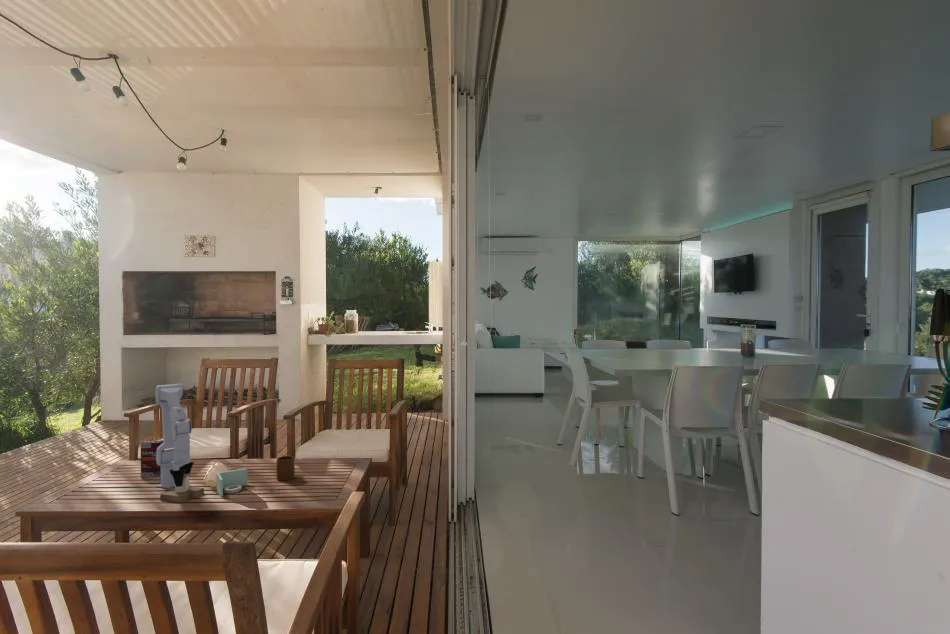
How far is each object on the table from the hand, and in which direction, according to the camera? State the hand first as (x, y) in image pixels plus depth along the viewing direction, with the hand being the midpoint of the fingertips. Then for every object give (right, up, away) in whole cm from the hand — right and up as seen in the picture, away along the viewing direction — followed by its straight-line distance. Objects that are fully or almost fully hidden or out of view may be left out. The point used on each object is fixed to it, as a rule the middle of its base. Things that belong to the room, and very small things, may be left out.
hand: (182, 483), depth 214 cm
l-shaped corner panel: (+18, -6, +8) cm, 20 cm away
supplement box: (-31, -6, +31) cm, 44 cm away
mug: (+34, -5, +25) cm, 42 cm away
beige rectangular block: (0, -3, 0) cm, 3 cm away
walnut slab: (0, -6, 0) cm, 6 cm away
